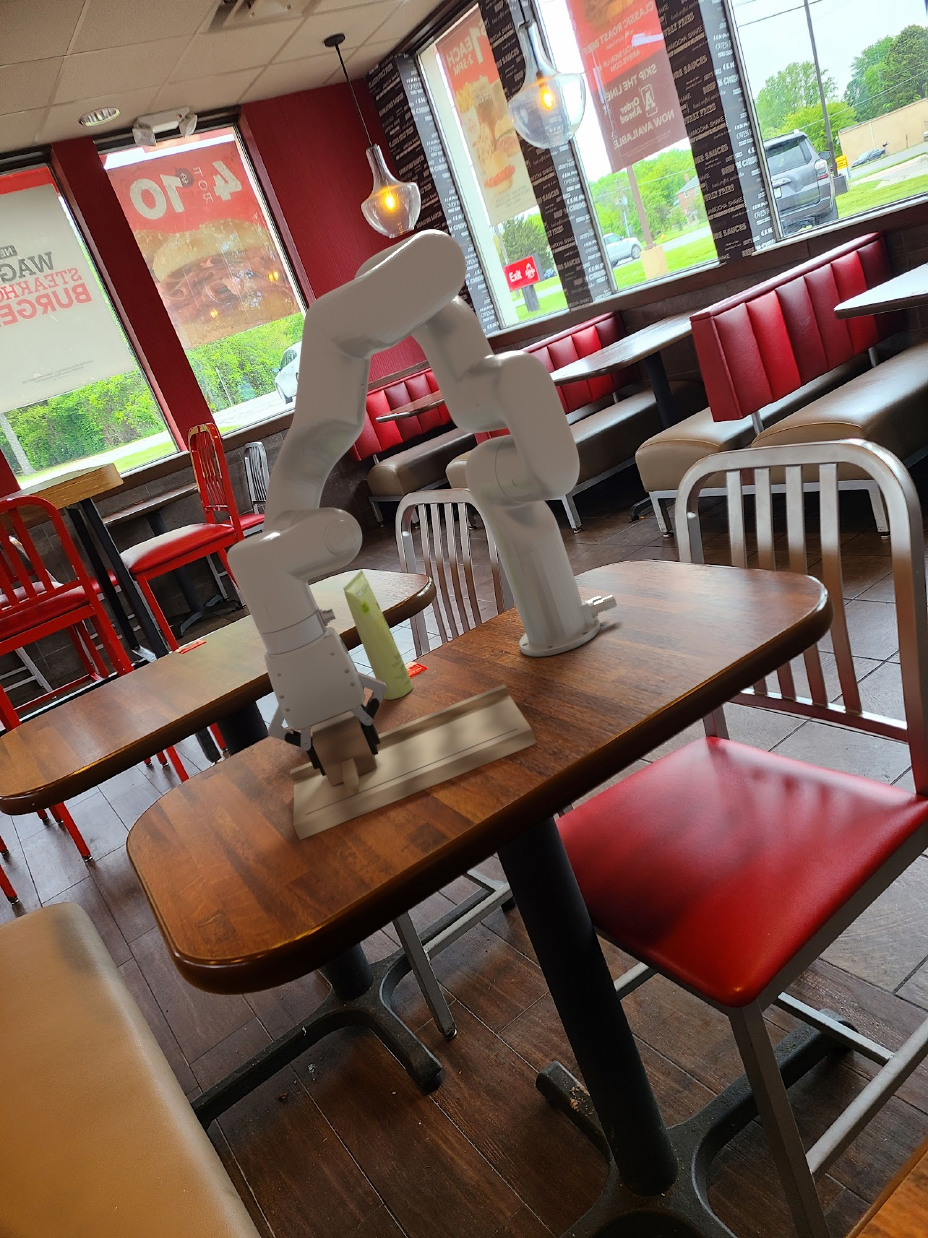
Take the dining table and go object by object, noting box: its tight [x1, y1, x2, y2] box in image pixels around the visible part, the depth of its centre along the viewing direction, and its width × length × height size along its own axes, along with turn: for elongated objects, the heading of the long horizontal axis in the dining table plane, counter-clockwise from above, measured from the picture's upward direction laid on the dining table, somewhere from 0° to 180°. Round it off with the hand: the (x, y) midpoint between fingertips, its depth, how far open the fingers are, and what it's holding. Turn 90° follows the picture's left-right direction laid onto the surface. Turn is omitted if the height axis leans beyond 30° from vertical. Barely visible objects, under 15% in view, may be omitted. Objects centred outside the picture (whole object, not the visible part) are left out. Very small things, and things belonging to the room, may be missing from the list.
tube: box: [342, 569, 414, 701], centre depth 131 cm, size 6×5×20 cm
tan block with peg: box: [311, 711, 377, 794], centre depth 107 cm, size 6×11×6 cm, turn 11°
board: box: [290, 683, 538, 841], centre depth 109 cm, size 30×13×3 cm, turn 101°
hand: (349, 759), depth 110 cm, fingers closed on tan block with peg, 6 cm apart
